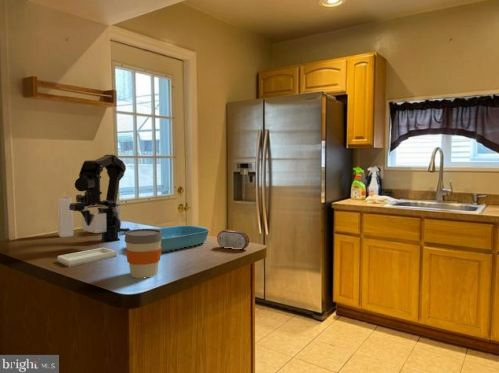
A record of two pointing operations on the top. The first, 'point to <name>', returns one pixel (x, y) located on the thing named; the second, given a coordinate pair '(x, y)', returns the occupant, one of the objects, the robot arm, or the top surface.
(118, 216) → the milk frother
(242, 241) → the portable speaker
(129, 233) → the reusable coffee cup
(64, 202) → the milk
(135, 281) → the top surface
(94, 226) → the white rectangular block
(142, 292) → the top surface
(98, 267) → the top surface
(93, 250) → the tray
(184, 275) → the top surface
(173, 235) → the casserole dish
